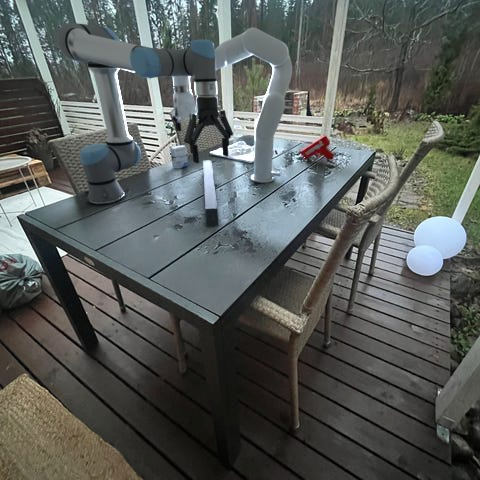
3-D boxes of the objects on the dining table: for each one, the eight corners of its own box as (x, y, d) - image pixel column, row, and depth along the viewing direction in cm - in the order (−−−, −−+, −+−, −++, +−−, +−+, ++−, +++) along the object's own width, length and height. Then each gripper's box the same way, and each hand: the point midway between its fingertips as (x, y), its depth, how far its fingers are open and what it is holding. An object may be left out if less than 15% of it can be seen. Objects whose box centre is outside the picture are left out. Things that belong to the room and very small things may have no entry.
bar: (204, 173, 155) (203, 160, 151) (212, 173, 155) (211, 160, 151) (206, 226, 104) (205, 209, 100) (218, 225, 104) (217, 208, 100)
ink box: (184, 164, 169) (181, 144, 163) (188, 165, 166) (186, 146, 160) (172, 167, 164) (169, 147, 158) (176, 169, 161) (174, 148, 155)
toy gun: (337, 154, 172) (326, 134, 168) (337, 156, 169) (325, 135, 165) (312, 169, 182) (300, 150, 178) (311, 171, 179) (299, 152, 175)
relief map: (251, 162, 170) (251, 154, 168) (209, 154, 188) (209, 146, 185) (273, 153, 189) (273, 145, 186) (233, 146, 206) (233, 139, 204)
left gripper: (179, 99, 83) (188, 167, 95) (241, 94, 96) (242, 154, 108) (168, 98, 88) (177, 163, 99) (228, 93, 101) (230, 151, 113)
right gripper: (172, 91, 117) (177, 133, 127) (202, 89, 128) (204, 127, 138) (162, 90, 122) (167, 131, 131) (191, 88, 133) (195, 126, 142)
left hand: (211, 158), depth 104 cm, fingers open, 13 cm apart
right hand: (186, 129), depth 134 cm, fingers open, 9 cm apart
